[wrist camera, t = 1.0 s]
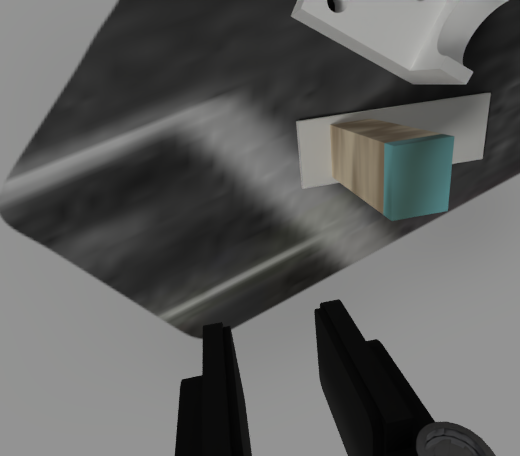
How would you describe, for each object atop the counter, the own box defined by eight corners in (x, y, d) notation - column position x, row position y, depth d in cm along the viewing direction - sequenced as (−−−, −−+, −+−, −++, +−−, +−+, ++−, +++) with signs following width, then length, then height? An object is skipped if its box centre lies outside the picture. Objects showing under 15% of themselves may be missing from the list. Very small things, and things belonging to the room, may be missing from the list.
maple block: (371, 118, 33) (454, 136, 22) (371, 170, 35) (447, 210, 24) (329, 124, 33) (393, 145, 22) (332, 176, 35) (391, 220, 24)
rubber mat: (486, 92, 34) (490, 92, 34) (478, 157, 37) (482, 158, 36) (296, 121, 33) (297, 121, 32) (301, 186, 35) (303, 188, 35)
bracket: (453, 5, 31) (525, -18, 24) (411, 84, 33) (466, 84, 26) (328, -78, 27) (370, -133, 21) (290, 16, 30) (316, -4, 23)
